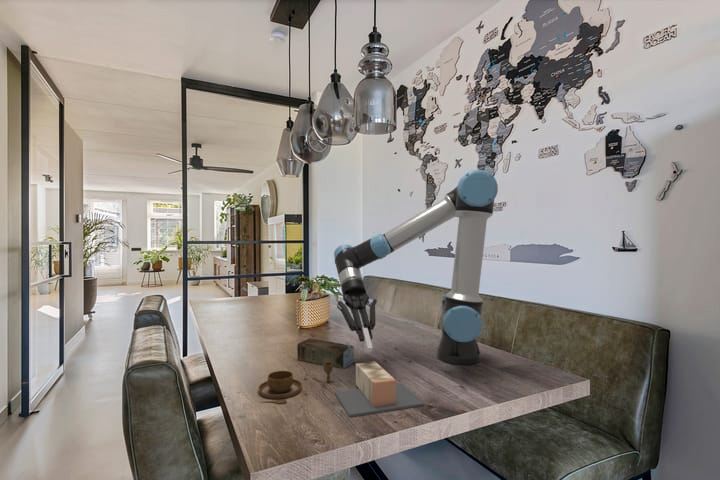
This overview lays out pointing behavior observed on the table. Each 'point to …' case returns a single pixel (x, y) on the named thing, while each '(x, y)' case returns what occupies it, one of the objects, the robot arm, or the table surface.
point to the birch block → (376, 384)
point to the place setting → (285, 384)
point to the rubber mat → (360, 405)
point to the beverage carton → (325, 352)
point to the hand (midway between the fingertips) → (369, 350)
